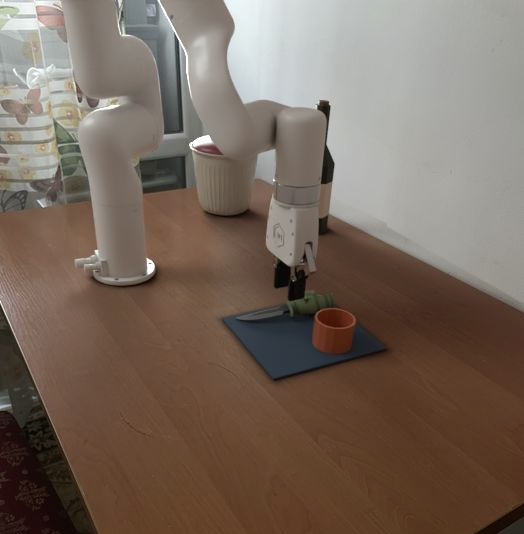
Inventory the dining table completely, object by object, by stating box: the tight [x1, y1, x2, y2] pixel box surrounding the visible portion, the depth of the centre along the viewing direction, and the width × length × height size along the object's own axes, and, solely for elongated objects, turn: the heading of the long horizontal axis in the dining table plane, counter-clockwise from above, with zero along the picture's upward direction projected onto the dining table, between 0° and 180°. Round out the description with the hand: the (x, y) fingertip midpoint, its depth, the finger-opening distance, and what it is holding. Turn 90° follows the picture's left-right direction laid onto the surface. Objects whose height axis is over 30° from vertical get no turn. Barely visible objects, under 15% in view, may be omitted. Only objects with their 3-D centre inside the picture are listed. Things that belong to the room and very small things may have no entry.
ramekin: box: [312, 307, 357, 354], centre depth 93 cm, size 7×7×5 cm
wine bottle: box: [314, 99, 336, 235], centre depth 131 cm, size 8×8×30 cm
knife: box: [235, 289, 335, 321], centre depth 100 cm, size 4×18×5 cm
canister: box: [189, 135, 259, 216], centre depth 142 cm, size 18×18×21 cm
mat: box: [221, 303, 387, 381], centre depth 97 cm, size 22×20×1 cm
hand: (288, 292), depth 98 cm, fingers open, 4 cm apart
